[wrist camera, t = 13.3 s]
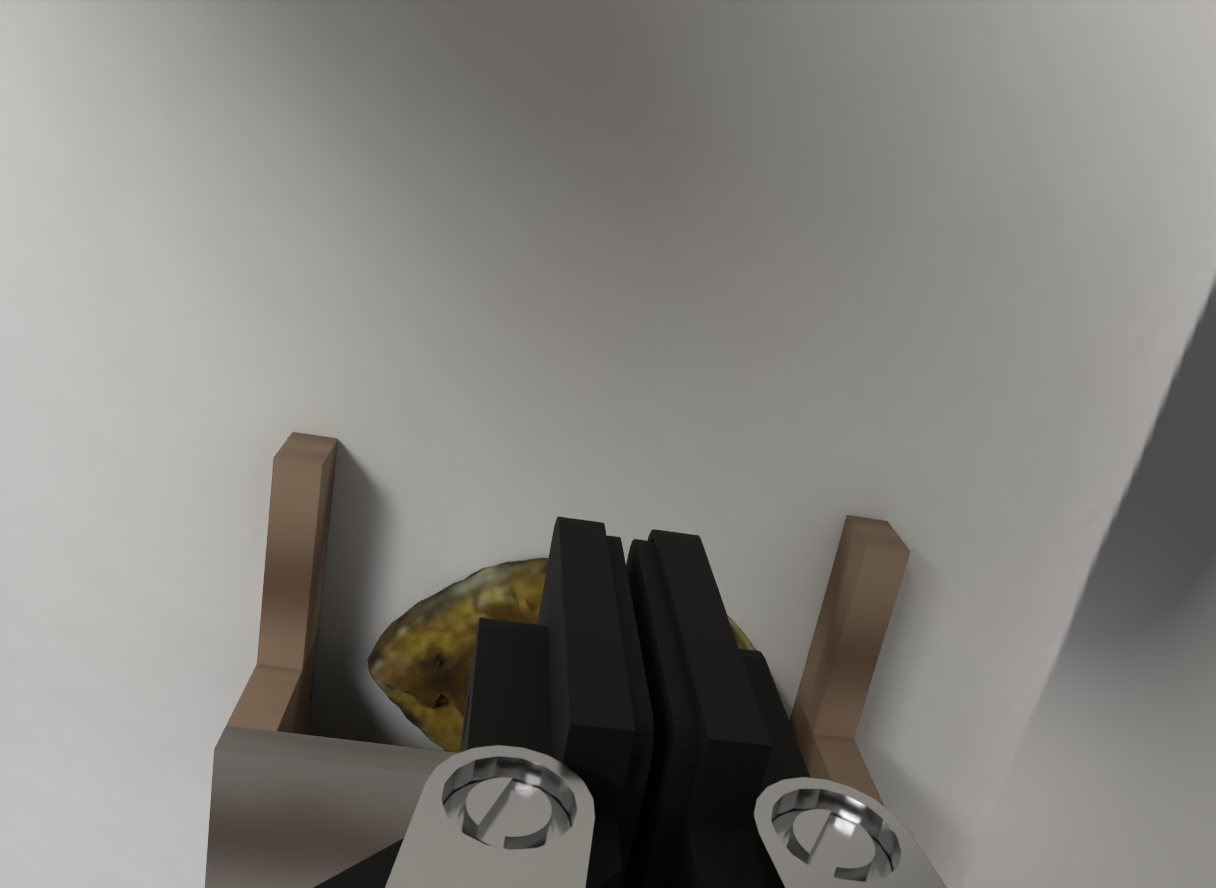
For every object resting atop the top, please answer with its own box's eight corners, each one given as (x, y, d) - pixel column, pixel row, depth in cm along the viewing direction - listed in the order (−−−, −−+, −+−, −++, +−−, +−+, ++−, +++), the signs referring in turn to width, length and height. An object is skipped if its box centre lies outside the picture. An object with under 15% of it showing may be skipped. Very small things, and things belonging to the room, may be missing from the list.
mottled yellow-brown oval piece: (376, 744, 41) (752, 758, 42) (354, 838, 36) (772, 851, 37) (372, 542, 37) (788, 562, 38) (346, 620, 32) (816, 641, 33)
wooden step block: (292, 432, 35) (229, 517, 28) (887, 521, 37) (962, 620, 30) (260, 808, 40) (199, 959, 33) (786, 866, 42) (831, 1018, 35)
